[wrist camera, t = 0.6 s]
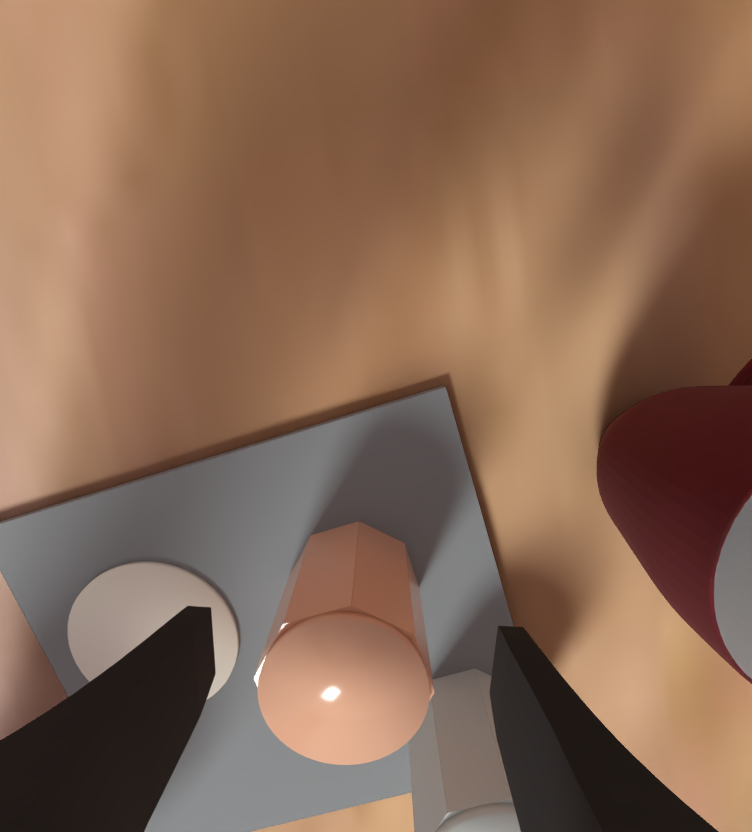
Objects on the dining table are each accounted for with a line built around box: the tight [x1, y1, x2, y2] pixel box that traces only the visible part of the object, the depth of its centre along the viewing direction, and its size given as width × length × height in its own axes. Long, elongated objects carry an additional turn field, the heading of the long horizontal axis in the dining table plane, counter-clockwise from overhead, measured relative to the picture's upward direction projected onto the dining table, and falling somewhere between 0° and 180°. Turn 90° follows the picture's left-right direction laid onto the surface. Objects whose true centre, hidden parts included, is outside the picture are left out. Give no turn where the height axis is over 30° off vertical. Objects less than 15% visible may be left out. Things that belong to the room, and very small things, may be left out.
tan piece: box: [254, 521, 435, 765], centre depth 18 cm, size 6×6×6 cm
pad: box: [67, 561, 239, 699], centre depth 22 cm, size 8×8×1 cm
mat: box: [0, 385, 514, 832], centre depth 22 cm, size 22×20×1 cm
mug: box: [597, 359, 752, 684], centre depth 15 cm, size 10×8×10 cm
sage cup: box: [408, 669, 521, 832], centre depth 20 cm, size 6×6×6 cm
